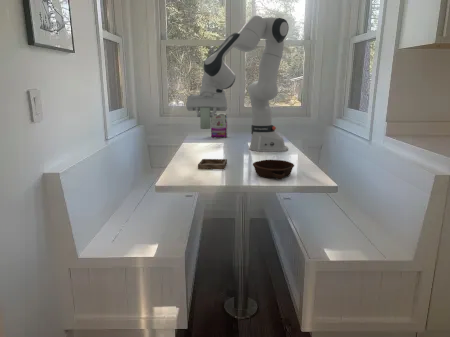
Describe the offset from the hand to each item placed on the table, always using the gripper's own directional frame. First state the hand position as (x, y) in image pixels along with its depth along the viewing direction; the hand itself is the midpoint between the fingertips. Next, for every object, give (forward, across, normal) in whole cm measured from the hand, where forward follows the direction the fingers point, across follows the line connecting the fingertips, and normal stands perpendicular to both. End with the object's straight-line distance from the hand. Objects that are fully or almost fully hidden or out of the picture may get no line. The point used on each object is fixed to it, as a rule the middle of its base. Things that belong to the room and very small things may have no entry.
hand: (205, 116), depth 172 cm
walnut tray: (+22, +5, +10) cm, 25 cm away
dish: (+31, +33, +2) cm, 45 cm away
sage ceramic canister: (+4, 0, +5) cm, 6 cm away
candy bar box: (-42, -5, +74) cm, 85 cm away
